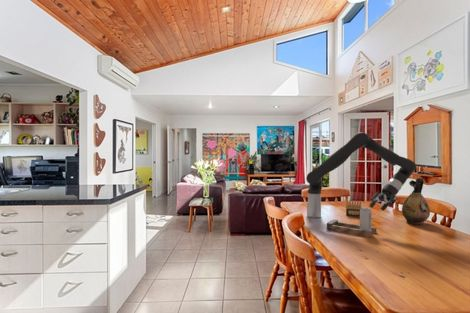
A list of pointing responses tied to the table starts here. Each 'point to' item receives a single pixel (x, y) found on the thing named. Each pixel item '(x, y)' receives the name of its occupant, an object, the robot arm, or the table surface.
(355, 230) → the channel
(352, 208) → the ammunition clip
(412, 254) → the table surface
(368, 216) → the energy drink can
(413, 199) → the ceramic jug
